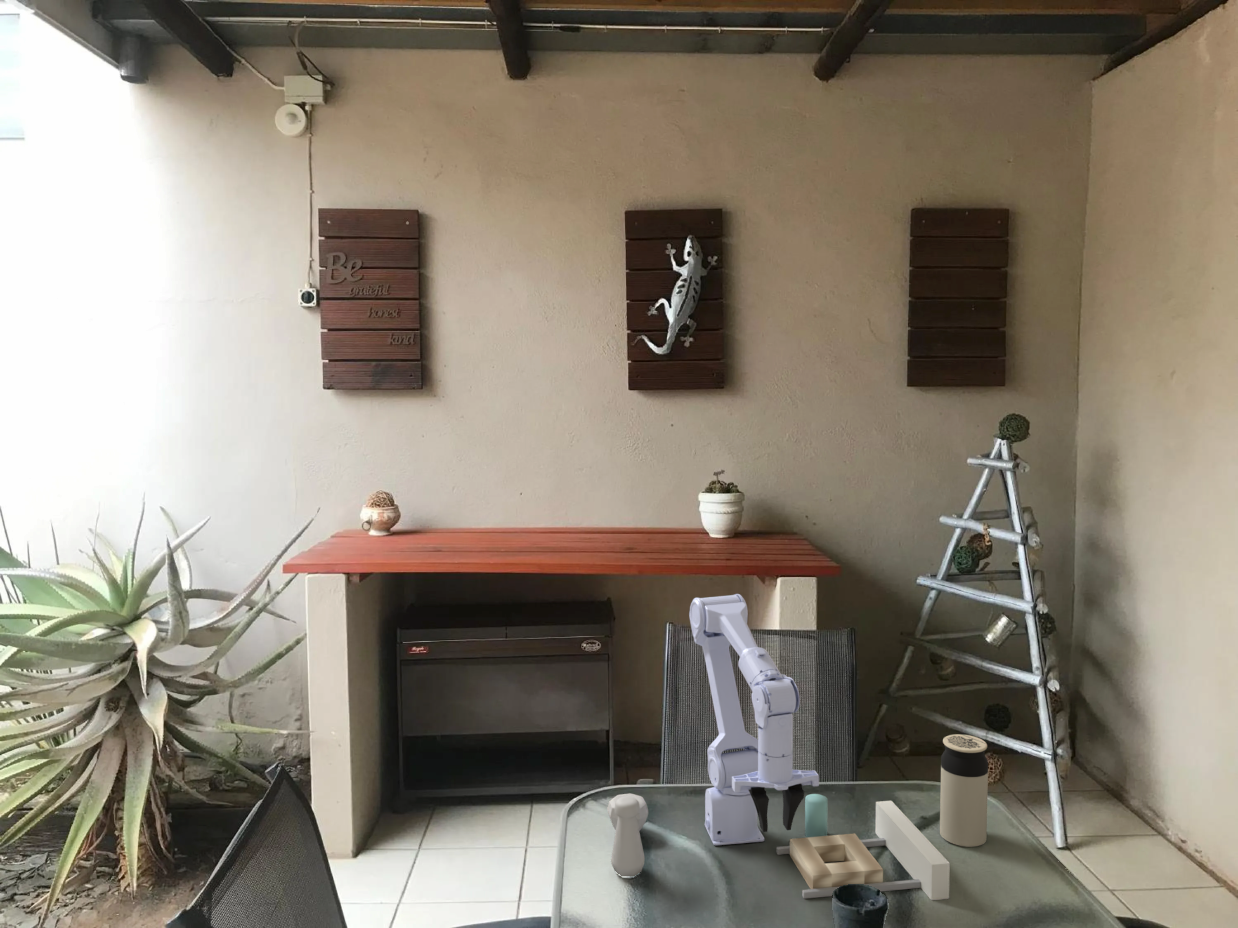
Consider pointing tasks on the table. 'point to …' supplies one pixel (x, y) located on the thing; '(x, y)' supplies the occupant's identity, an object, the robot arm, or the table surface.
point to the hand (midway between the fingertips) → (775, 828)
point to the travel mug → (964, 790)
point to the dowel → (816, 815)
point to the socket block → (834, 848)
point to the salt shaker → (627, 839)
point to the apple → (640, 817)
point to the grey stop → (901, 855)
